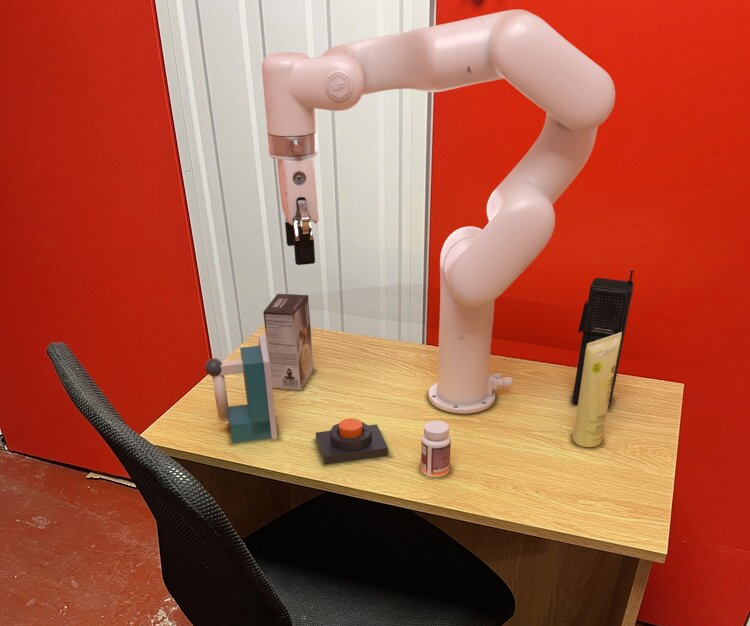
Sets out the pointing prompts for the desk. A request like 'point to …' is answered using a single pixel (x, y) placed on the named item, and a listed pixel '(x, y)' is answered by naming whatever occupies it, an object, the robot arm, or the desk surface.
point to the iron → (247, 394)
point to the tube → (595, 390)
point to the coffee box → (289, 341)
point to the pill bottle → (435, 449)
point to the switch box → (351, 445)
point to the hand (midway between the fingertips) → (300, 254)
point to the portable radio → (603, 320)
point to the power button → (350, 428)
